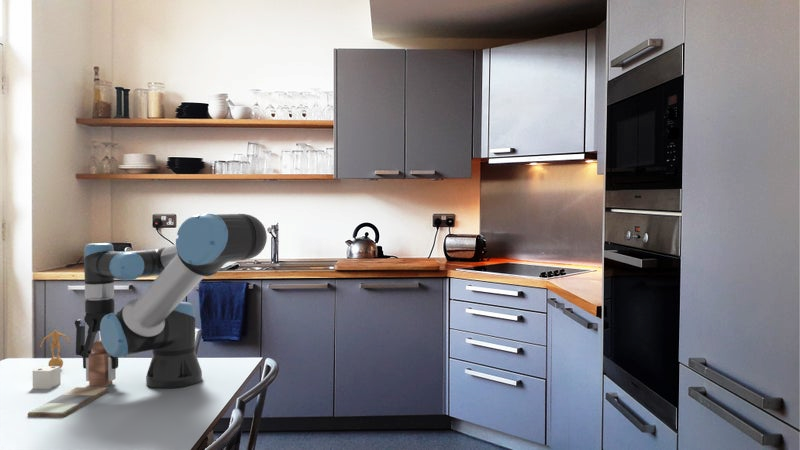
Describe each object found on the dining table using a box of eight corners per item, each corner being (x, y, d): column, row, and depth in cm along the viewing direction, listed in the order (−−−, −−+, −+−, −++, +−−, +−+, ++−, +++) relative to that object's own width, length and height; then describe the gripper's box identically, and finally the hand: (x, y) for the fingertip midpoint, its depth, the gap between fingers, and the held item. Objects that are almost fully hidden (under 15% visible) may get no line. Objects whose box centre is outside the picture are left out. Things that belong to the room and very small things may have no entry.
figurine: (40, 373, 195) (39, 333, 195) (40, 368, 201) (40, 330, 200) (71, 369, 199) (70, 331, 199) (70, 365, 205) (70, 327, 204)
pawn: (112, 382, 185) (111, 338, 185) (104, 386, 181) (104, 341, 180) (97, 382, 185) (96, 338, 185) (89, 386, 181) (88, 341, 180)
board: (107, 391, 176) (107, 387, 176) (64, 417, 155) (64, 412, 155) (75, 391, 176) (75, 387, 176) (27, 416, 155) (27, 412, 155)
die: (60, 383, 184) (60, 366, 184) (50, 388, 179) (50, 370, 179) (43, 383, 184) (43, 365, 184) (32, 388, 179) (32, 370, 179)
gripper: (138, 296, 186) (139, 376, 186) (74, 296, 186) (75, 376, 187) (126, 300, 178) (127, 383, 179) (59, 299, 179) (61, 383, 180)
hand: (101, 379), depth 183 cm, fingers open, 6 cm apart
